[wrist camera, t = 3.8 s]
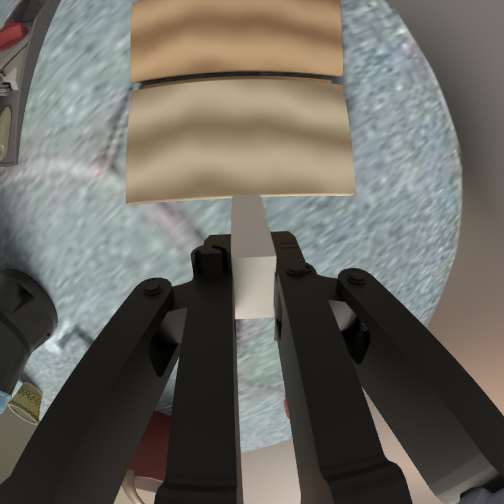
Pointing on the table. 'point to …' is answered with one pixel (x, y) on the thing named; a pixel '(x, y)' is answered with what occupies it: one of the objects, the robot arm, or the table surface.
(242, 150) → the ash plank
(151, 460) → the bucket
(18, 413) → the ceramic cup
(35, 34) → the hand plane
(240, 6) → the oak plank
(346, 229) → the table surface
